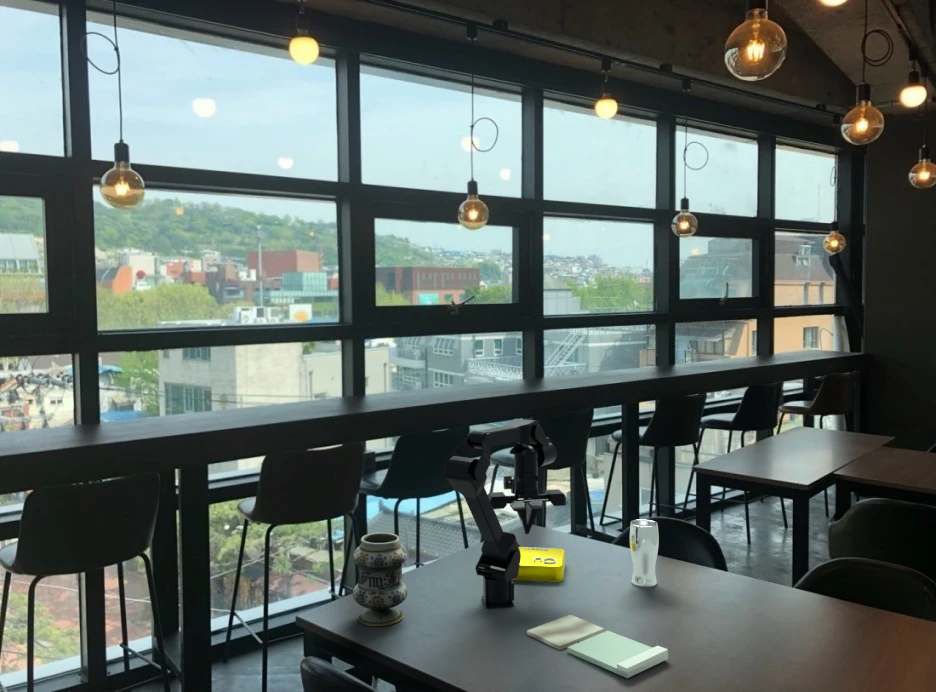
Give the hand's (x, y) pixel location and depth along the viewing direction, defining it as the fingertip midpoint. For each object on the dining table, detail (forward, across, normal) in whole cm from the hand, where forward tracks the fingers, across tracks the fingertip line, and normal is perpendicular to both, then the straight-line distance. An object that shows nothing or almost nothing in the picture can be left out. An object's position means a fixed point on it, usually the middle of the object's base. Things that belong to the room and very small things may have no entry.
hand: (526, 533), depth 182 cm
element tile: (+14, -4, -10) cm, 18 cm away
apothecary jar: (+13, +36, +13) cm, 41 cm away
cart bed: (+13, -2, +28) cm, 31 cm away
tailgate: (+13, -5, +33) cm, 36 cm away
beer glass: (+13, -29, +3) cm, 32 cm away
